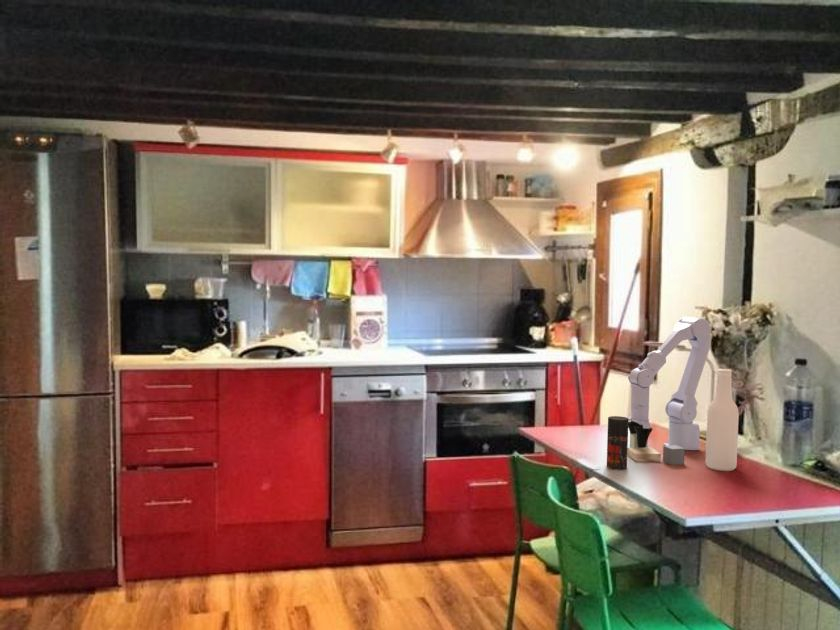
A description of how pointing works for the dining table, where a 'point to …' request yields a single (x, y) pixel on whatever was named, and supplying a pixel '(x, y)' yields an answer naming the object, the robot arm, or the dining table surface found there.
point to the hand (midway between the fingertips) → (638, 445)
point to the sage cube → (635, 441)
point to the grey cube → (673, 454)
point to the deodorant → (617, 442)
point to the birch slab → (644, 454)
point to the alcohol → (722, 426)
